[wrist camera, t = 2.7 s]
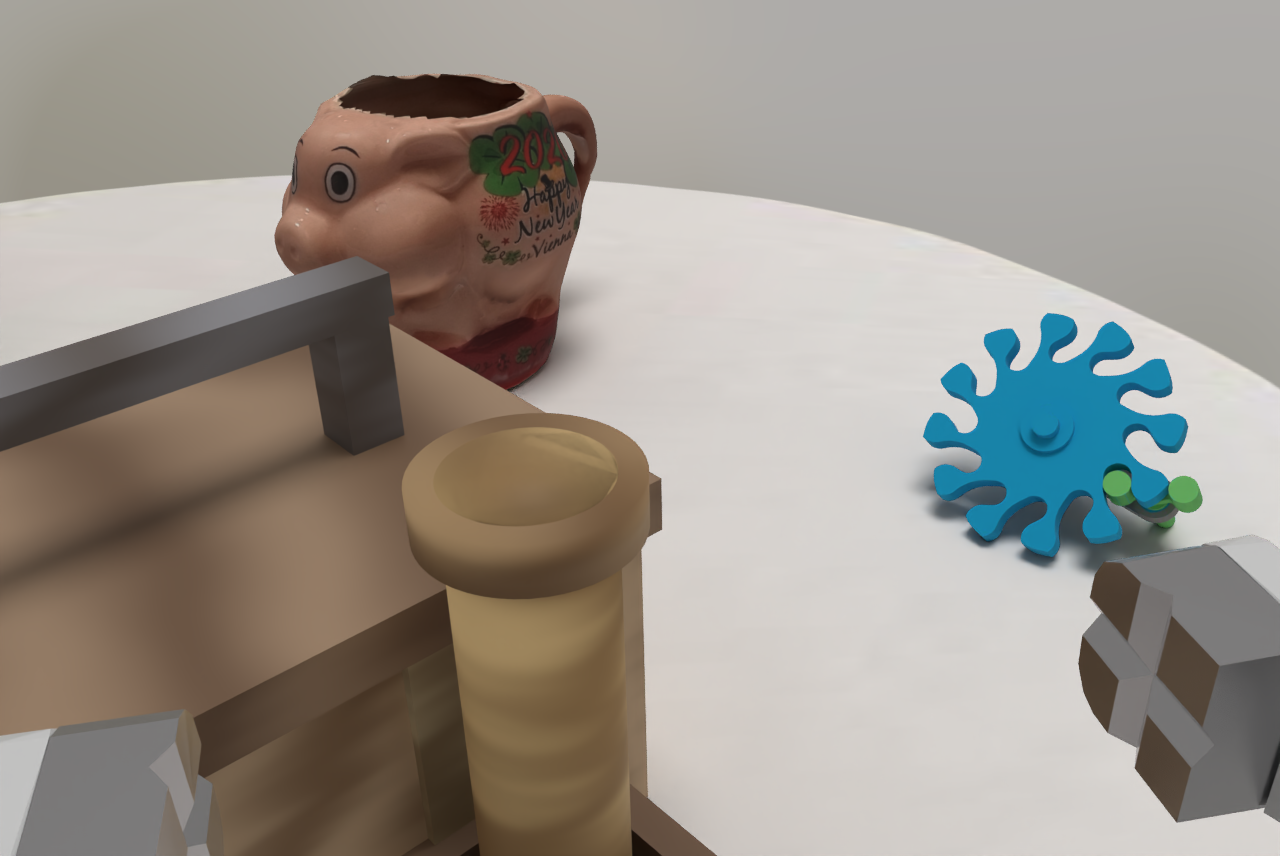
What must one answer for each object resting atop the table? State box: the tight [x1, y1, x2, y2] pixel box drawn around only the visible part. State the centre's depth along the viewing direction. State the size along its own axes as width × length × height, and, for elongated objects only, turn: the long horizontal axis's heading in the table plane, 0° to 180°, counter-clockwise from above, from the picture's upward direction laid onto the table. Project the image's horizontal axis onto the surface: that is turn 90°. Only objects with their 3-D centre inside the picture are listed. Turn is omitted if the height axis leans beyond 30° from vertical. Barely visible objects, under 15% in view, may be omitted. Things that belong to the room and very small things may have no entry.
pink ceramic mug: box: [275, 74, 597, 390], centre depth 61 cm, size 20×12×14 cm, turn 146°
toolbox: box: [0, 256, 717, 856], centre depth 30 cm, size 23×21×16 cm
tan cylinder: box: [402, 413, 650, 856], centre depth 28 cm, size 5×5×16 cm
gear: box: [923, 313, 1202, 557], centre depth 50 cm, size 11×6×10 cm
